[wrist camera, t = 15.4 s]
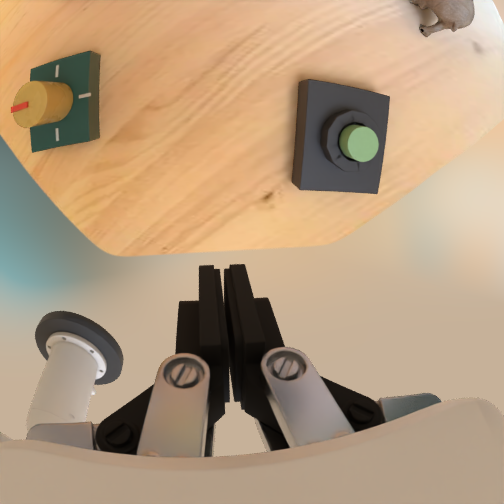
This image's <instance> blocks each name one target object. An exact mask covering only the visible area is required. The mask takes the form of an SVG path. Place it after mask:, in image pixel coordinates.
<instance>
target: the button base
mask: <svg viewBox="0 0 504 504" xmlns="http://www.w3.org/2000/svg"><path fill="white" fill-rule="evenodd" d="M389 101H390V97H389V96H386V95H383V94H379V93H375V92H371V91H367V90H363V89H359V88H354V87H350V86H345V85H340V84H335V83H329V82H324V81H317V80H311V79H308V80H304V81H300V82H299V92H298V108H297V123H296V137H295V151H294V163H293V175H292V183H293V184H294V185H295V186H296V187H297V188H298V189H300V190H315V191H338V192H355V193H370V194H378V188H379V182H380V176H381V170H382V163H383V156H384V149H385V141H386V133H387V123H388V113H389ZM350 125H359V126H365V127H368V128H370V129H372V130H373V131H374V132H375V134H376V136H377V138H378V143H379V146H378V151H377V153H376V155H375V156H374V157H373V158H372V159H371V160H369V161H366V162H359V161H357V160H354V159H352V158H350V157H348V156H346V155H345V154H344V153H343V152H342V150H341V148H340V145H339V137H340V134H341V132H342V131H343V130H344V129H345V128H346V127H347V126H350Z"/></svg>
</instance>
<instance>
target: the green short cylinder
mask: <svg viewBox="0 0 504 504" xmlns="http://www.w3.org/2000/svg"><path fill="white" fill-rule="evenodd" d="M339 145H340V148H341V150H342V152H343V153H344V154H345V155H346V156H348V157H350V158H352V159H354V160H357V161H359V162H366V161H369V160H371V159H372V158H373V157H374V156H375V155H376V153H377V151H378V146H379V143H378V138H377V136H376V134H375V132H374V131H373V130H372V129H370V128H368V127H365V126H359V125H350V126H347V127H346V128H345V129H344V130H343V131H342V132H341V134H340V137H339Z"/></svg>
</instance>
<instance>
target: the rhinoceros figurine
mask: <svg viewBox="0 0 504 504" xmlns="http://www.w3.org/2000/svg"><path fill="white" fill-rule="evenodd" d="M410 3H413V4H415V5H417V6H418V5H419V7H420V8H421V9H426V8H430V9H431V10H432V11H433V12H434V13H435V14H436V15H437V17H438V18H439V19H438V22H437V23H436V24H435V25H432V26H428V27H426V26H424V25H422V24H420V27H419V29H423V30H424V32H421V31H420V32H421V33H422V34H423V35H425V36H426V37H428V36H429V35H430V34H431V33H433V32H437V31H441V30H444V29H451V30H452V31H453V32H455V31H456V30H457V29H460V28H464V27H467V26H468V25H470V24H471V22H472V20H473V18H474V4H473V0H410Z"/></svg>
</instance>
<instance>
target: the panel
mask: <svg viewBox="0 0 504 504" xmlns="http://www.w3.org/2000/svg"><path fill="white" fill-rule="evenodd" d="M99 69H100V55H99V54H97V53H95V52H92V51H87V52H83V53H80V54H76V55H72V56H69V57H65V58H62V59H59V60H56V61H53V62H50V63H47V64H44V65H41V66H38V67H36V68H33V69H31V73H30V81H48V82H61V83H65V84H67V85H68V86H69V87H70V88H71V90H72V93H73V104H72V107H71V109H70V111H69V113H68V114H67V116H66V117H65V118H63V119H62V120H60V121H58V122H54V123H48V124H43V125H38V126H34V127H30V134H31V147H32V153H33V152H37V151H42V150H46V149H51V148H55V147H60V146H66V145H71V144H76V143H82V142H88V141H92V140H95V139H98V138H100V135H99Z"/></svg>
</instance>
